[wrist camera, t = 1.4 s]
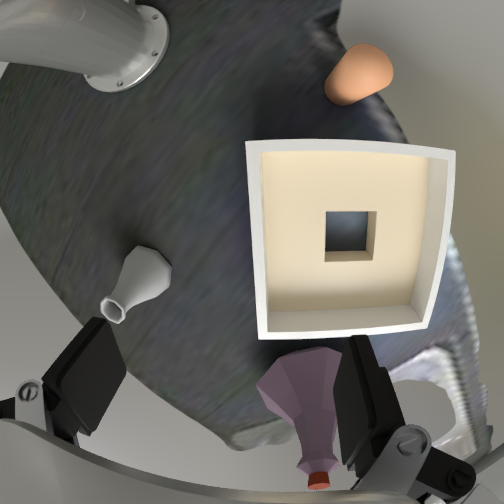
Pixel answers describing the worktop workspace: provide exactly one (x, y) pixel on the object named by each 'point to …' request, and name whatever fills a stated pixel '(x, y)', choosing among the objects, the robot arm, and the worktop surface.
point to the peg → (358, 75)
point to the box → (347, 262)
